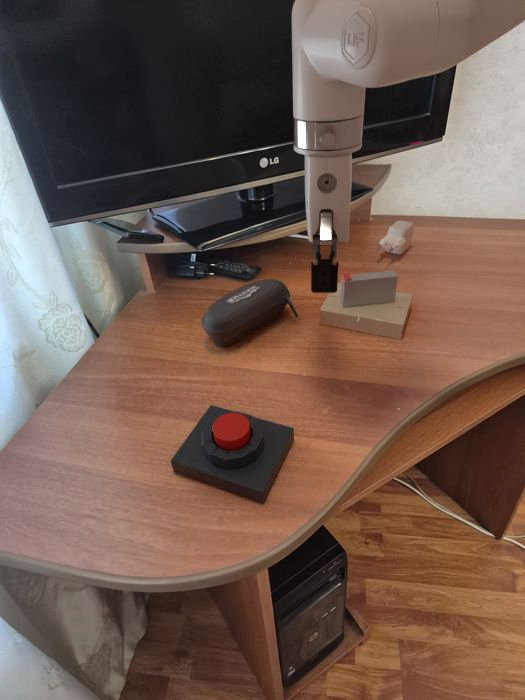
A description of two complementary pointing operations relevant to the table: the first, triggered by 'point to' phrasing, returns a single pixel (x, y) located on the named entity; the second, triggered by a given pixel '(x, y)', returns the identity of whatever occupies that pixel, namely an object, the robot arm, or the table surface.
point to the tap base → (367, 315)
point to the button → (231, 431)
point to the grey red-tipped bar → (368, 288)
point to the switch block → (235, 456)
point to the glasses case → (246, 311)
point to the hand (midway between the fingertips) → (324, 273)
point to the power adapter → (397, 237)
